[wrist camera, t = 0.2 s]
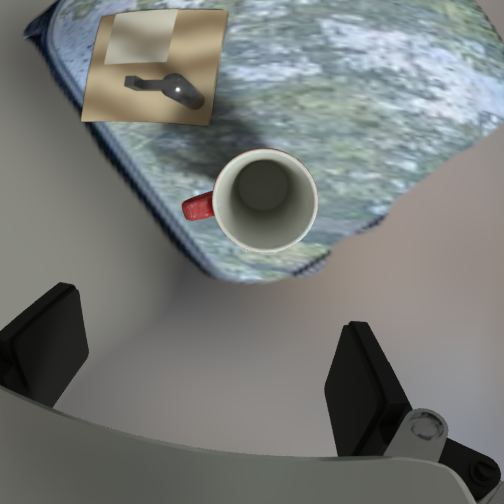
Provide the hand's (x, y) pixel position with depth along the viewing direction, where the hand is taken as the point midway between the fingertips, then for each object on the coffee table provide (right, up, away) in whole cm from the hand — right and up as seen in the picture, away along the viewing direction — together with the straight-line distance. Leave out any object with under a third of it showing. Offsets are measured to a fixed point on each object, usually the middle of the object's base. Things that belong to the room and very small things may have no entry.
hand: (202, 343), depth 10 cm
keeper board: (-11, +27, +24) cm, 38 cm away
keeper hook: (-7, +21, +24) cm, 33 cm away
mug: (+1, +11, +29) cm, 31 cm away
